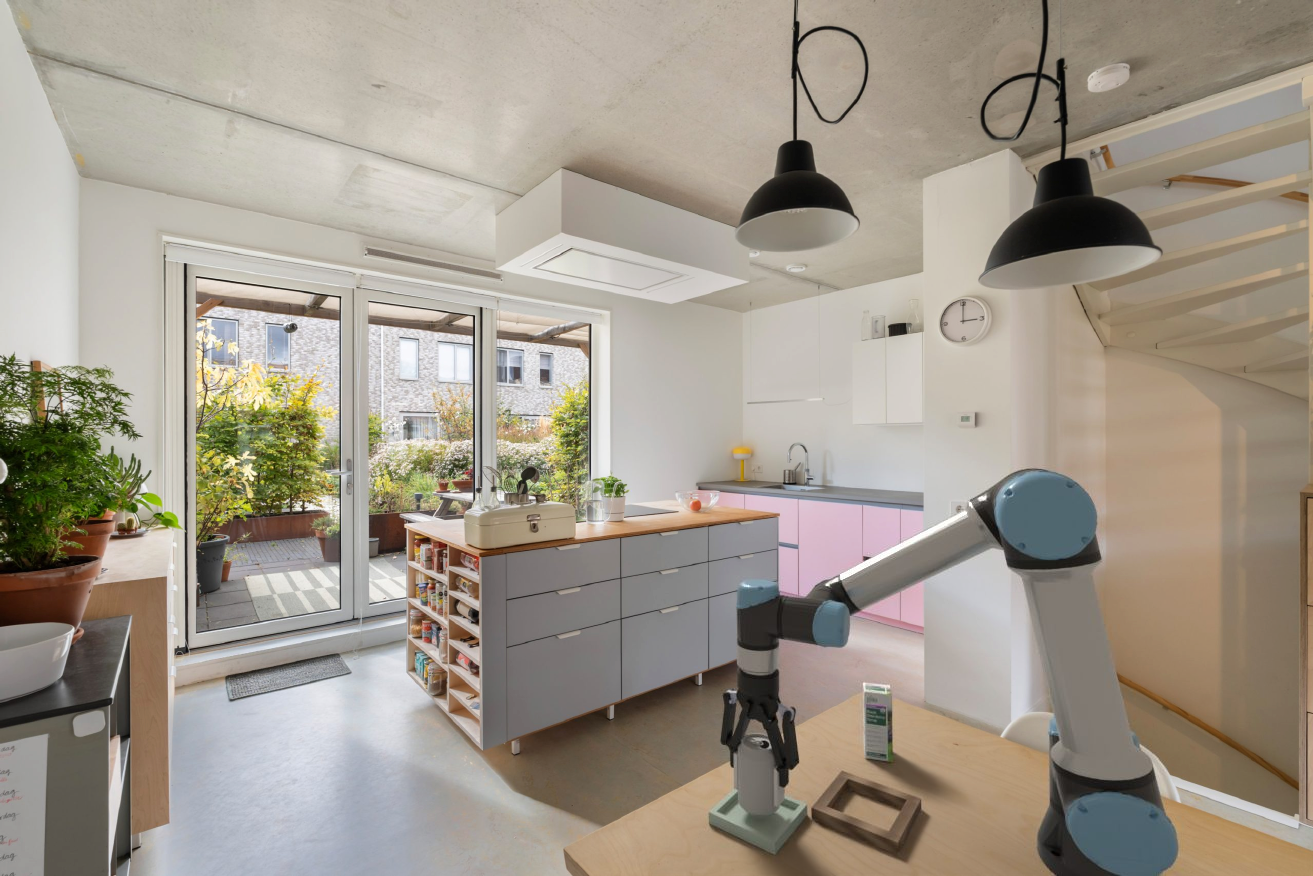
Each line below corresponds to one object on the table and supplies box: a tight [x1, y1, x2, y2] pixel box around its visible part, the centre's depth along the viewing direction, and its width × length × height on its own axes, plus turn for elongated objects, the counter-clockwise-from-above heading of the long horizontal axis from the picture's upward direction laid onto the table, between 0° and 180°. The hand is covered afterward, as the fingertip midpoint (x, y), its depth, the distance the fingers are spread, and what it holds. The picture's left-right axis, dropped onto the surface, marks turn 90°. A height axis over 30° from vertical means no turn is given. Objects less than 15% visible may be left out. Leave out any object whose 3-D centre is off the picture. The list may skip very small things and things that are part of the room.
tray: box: [708, 788, 808, 856], centre depth 105 cm, size 13×13×2 cm
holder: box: [810, 770, 922, 855], centre depth 107 cm, size 15×15×2 cm
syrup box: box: [862, 682, 894, 763], centre depth 127 cm, size 6×6×14 cm
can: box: [738, 732, 780, 817], centre depth 105 cm, size 8×8×12 cm
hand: (758, 794), depth 105 cm, fingers closed on can, 7 cm apart
